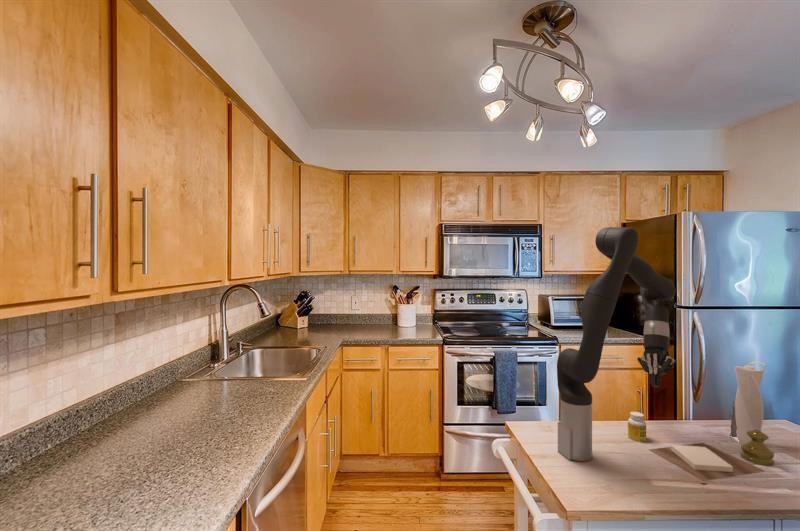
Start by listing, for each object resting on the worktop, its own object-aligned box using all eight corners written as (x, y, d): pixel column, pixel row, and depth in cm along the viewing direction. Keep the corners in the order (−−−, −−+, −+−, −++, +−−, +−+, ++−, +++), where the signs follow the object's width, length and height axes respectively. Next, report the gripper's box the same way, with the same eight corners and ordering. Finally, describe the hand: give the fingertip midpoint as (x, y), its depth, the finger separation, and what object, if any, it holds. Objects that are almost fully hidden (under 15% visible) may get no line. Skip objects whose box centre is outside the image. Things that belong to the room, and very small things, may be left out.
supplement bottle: (632, 436, 135) (632, 409, 135) (649, 442, 130) (649, 414, 130) (624, 440, 132) (624, 412, 132) (641, 447, 127) (641, 418, 127)
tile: (671, 449, 123) (694, 469, 111) (671, 445, 123) (694, 464, 111) (705, 451, 122) (732, 472, 110) (705, 446, 122) (732, 466, 110)
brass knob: (777, 472, 112) (777, 438, 112) (743, 465, 116) (743, 432, 116) (770, 461, 118) (770, 429, 118) (738, 455, 122) (738, 423, 122)
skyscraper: (761, 442, 131) (762, 360, 131) (768, 452, 124) (768, 365, 124) (729, 436, 136) (730, 357, 136) (734, 445, 129) (734, 362, 129)
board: (703, 484, 106) (703, 480, 106) (648, 453, 123) (648, 449, 123) (765, 475, 110) (765, 471, 110) (703, 446, 128) (703, 442, 128)
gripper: (683, 337, 129) (683, 390, 124) (647, 338, 141) (645, 386, 137) (666, 332, 127) (666, 386, 122) (631, 333, 139) (629, 382, 135)
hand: (655, 386), depth 129 cm, fingers closed
